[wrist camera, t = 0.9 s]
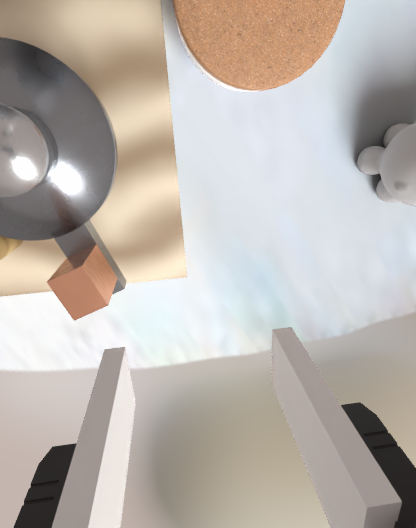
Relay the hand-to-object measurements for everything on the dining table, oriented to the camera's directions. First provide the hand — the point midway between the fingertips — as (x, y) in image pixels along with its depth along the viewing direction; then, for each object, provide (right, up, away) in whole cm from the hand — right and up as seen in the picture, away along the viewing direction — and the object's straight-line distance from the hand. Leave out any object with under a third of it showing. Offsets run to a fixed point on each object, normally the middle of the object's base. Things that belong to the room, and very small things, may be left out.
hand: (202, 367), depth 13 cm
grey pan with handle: (-11, +10, +10) cm, 18 cm away
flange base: (-13, +13, +16) cm, 24 cm away
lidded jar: (+3, +23, +14) cm, 27 cm away
